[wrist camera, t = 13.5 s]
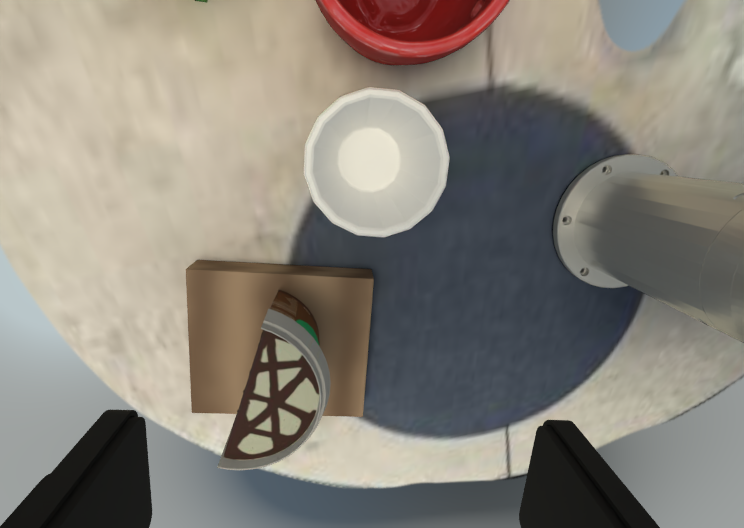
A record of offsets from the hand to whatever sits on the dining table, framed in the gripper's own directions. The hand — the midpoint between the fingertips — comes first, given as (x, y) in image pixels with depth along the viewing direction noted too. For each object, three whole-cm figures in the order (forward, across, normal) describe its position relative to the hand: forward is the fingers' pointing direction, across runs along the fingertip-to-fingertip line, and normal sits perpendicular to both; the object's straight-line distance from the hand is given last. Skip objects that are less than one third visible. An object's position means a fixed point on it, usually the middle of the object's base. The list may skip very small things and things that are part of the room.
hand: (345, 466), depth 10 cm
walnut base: (+30, +5, +11) cm, 33 cm away
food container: (+28, +4, +11) cm, 30 cm away
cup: (+31, -2, -6) cm, 31 cm away
